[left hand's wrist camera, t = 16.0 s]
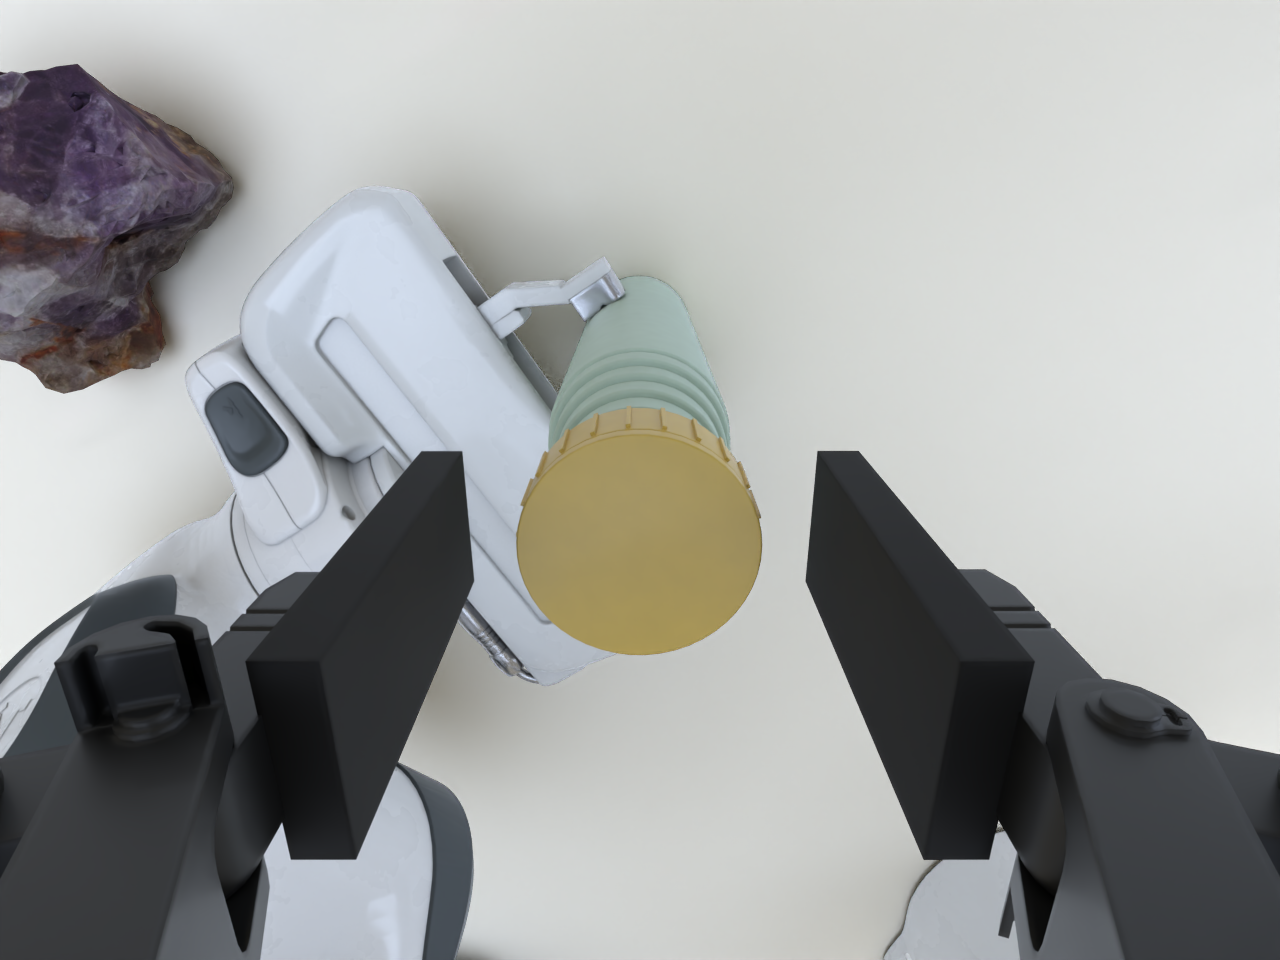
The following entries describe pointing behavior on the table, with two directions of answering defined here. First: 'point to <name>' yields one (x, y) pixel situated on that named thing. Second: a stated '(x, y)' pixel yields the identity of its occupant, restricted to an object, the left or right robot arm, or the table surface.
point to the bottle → (640, 363)
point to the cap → (639, 532)
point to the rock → (91, 224)
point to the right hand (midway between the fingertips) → (658, 341)
